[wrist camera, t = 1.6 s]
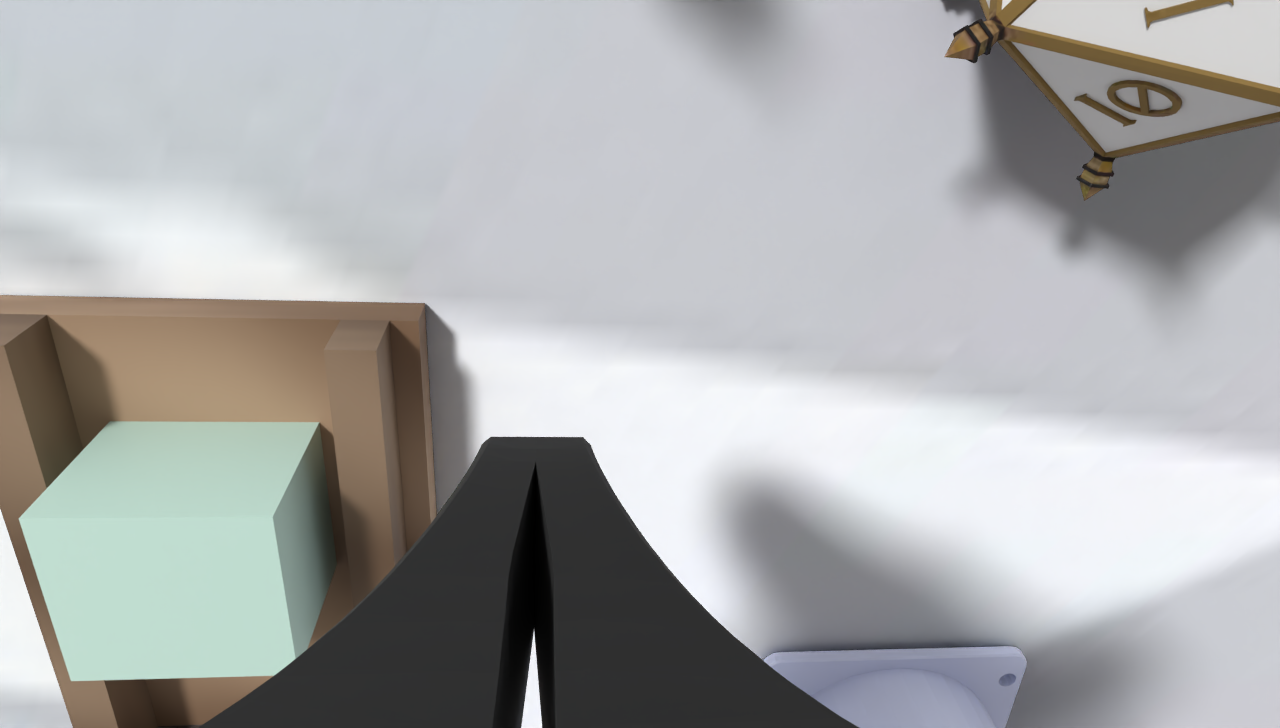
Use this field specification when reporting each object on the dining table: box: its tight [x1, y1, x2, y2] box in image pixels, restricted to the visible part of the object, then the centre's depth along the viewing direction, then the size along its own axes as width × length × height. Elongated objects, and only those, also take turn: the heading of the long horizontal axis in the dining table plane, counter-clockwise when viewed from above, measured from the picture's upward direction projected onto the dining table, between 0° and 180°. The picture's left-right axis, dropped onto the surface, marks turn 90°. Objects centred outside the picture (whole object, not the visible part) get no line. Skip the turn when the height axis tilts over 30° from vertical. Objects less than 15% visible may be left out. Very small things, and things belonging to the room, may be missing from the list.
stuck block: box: [19, 421, 337, 681], centre depth 18 cm, size 4×4×4 cm
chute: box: [0, 295, 437, 728], centre depth 20 cm, size 13×9×4 cm
